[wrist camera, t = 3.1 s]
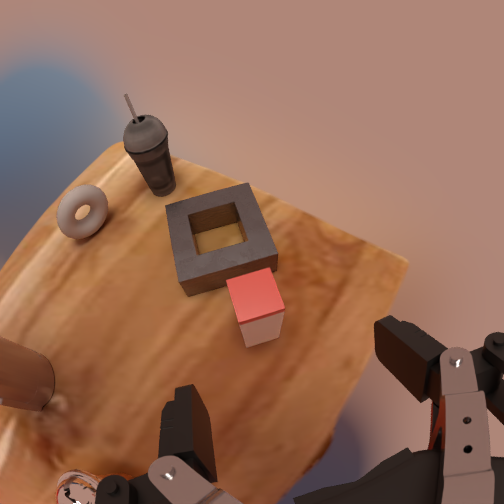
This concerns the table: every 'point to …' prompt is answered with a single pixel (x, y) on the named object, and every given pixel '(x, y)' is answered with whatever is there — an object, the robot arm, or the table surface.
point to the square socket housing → (225, 259)
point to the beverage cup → (150, 151)
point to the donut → (73, 203)
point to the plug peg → (257, 306)
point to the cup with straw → (80, 487)
